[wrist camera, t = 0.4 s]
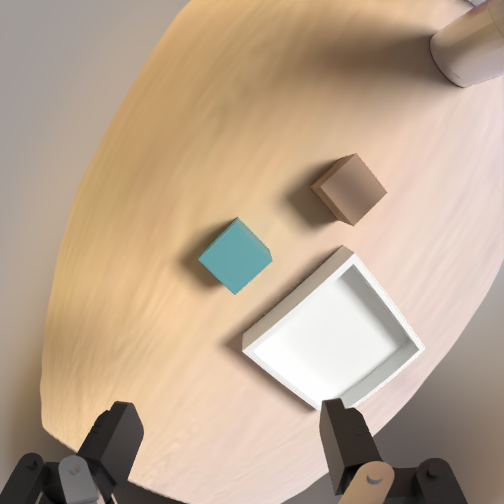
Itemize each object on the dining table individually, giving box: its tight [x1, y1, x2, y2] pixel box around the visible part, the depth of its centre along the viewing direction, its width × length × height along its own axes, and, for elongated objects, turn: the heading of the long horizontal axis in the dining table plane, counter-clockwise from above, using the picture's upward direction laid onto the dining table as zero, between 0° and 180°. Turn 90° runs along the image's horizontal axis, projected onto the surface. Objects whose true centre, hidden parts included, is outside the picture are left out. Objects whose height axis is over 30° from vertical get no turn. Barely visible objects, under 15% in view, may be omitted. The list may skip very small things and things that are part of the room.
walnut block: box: [310, 154, 387, 226], centre depth 28 cm, size 5×5×5 cm
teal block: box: [198, 217, 272, 295], centre depth 29 cm, size 5×5×5 cm
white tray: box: [242, 245, 426, 412], centre depth 32 cm, size 16×18×4 cm
